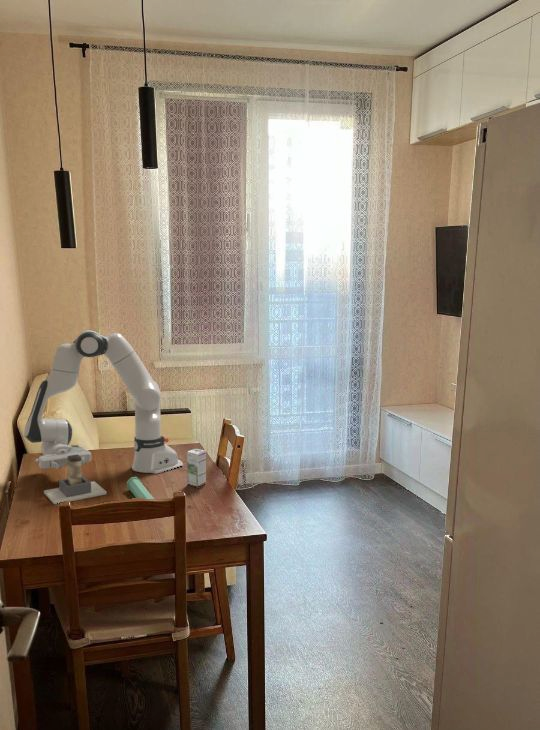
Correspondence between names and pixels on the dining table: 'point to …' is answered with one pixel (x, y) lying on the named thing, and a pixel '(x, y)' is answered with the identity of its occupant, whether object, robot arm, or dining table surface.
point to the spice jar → (74, 470)
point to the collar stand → (74, 491)
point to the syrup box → (196, 467)
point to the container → (138, 488)
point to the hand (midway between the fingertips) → (71, 464)
